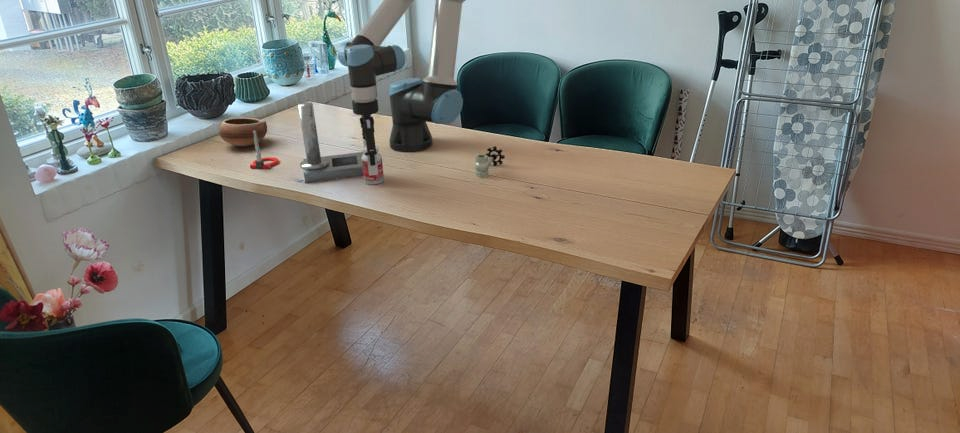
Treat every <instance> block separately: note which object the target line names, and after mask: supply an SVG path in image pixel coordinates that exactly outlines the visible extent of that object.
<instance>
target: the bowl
mask: <svg viewBox="0 0 960 433" xmlns="http://www.w3.org/2000/svg"><path fill="white" fill-rule="evenodd" d="M253 131H256V135H257V137H258V143H259V142H261V141H262V140H263V139H264V138H265V136H266V135H267V133H268V125H267V121H266V120H261V119H258V118H251V117H235V118H234V117H233V118H227V119H224V120H223V121H222V122H221V125H220V128H219V137H220V138H221V139H222V140H223V141H224V142H226V143H227V144H230V145H232V146H233V145H234V146H237V147H250V146H253V145H255V142H254V132H253Z"/></svg>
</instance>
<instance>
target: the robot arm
mask: <svg viewBox="0 0 960 433" xmlns="http://www.w3.org/2000/svg"><path fill="white" fill-rule="evenodd" d="M465 1H466V0H435V4H434V13H433V14H434V15H433V23H432V24H433V25H432V31H431V32H432V33H431V41H430V43H431V44H430V52H429V61H428V69H427V70H428V71H427V75H426V76H425V77H424V78H423V79H422V78H421V77H410V78H405V79H400V80H396V81H394V82H392V83H391V84H390V86H389V94H388V96H389V102H390V111H391V120H392V127H391V132H390V136H389V147H390V149H391V150H394V151H397V152H403V153H404V152H407V153H409V152H419V151H422V150H426V149H428V148H430V147H432V146H433V144H434V143H433V135H432V133H431V131H430V128H429V126H428V123H427V122H429V123H434V124H437V125H449V124H451V123H453V122H455V121H456V119H457V118H459V116H460V114H461V112H462V109H463V105H464V99H463V97H462V96H463V95H462V94H461V92H460V91H459V90H458V83H457V81H456V80H455V71H456V61H457V52H458V46H459V45H458V43H459V34H460V27H461V26H460V25H461V18H462V9H463V8H462V7H463V3H465ZM413 2H414V0H382V2H381V3H380V4H379V5H378V7H377V8H376V9H375V11H374V12H373V14H372V15H371V16H370V17H369V19H368V20H367V21H366V23H365V24H364V25H363V27H361V29H360V30H359V32H358V33H357V34H356V35H355V37H354V38H353V40H352V41H347V42H343V43H341V44H340V45H339V46H338V49H337V52H336V53H337V59H338V61H339V63H340V64H341V65H342V66H344V67H347V69H348V70H347V71H348V77H349V78H348V79H349V85H350V88H349V89H348V93H350V94H351V99H352V102H351V106H352V112H353V114H354V115H356V116H360V117H359V123H360V128H361V132H362V133H361V135H362V139H363V140H362V142H363V143H362V144H363V148H364V147H365V146H366V147H367V153H365V156H366V155H367V161H368V170H369V176H370V175H378V167H377V156H376V154H377V151H376V146H377V145H376V139H375V126H374V125H375V120H374V117H373V116H372V115H374V114H375V115H376V114H377V113H378V112H379V101H378V99H377V98H378V88H377V77H378V76H381V75H386V74H390V73H396V71H400V70H401V69H403V68H404V66H405V64H406V54H405V52H404V50H403V48H402V47H400V46H399V45H396V44H393V45H390V44H389V45H387V46H381V45H382V43H383V42H385V40H386V38H387V37H388V36H389V34H390V33H391V31H392V30H393V29H394V28H395V26H396V25H397V23H398V22H399V21H400V20H401V18H402V17H403V16H404V14H406V11H407V10H408V9H409V8H410V6H411V5H412V4H413ZM370 150H373V151H370Z"/></svg>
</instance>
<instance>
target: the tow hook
mask: <svg viewBox="0 0 960 433" xmlns="http://www.w3.org/2000/svg"><path fill="white" fill-rule="evenodd" d="M253 132H254V142H255V144H254V148H255V156H256V159H255V160H253V162H252V163H250V164H249V168H250V169H271V167H273V166H275V165H278V164H279V163H280V161H279V158H277V157H271V156H270V157H262V154H261V152H260V151H261V150H260V145H259V142H258V137H257V135H256V131H253ZM264 162H266V163H264ZM267 162H268V163H267Z"/></svg>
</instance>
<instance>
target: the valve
mask: <svg viewBox="0 0 960 433" xmlns="http://www.w3.org/2000/svg"><path fill="white" fill-rule="evenodd" d="M497 148H498V146H496V145H494V146H493V147H492V148H491V147H488V148H487V149H486V151H487V153H485V154H483V153H480V154H477V155H476V156H475V167H474V168H475V176H476V177H477V178H479V179H483V178H484V179H486V178H487V177H488V176H489V168H490V166H491V165H492V166H493V167H496V166H498V165H500V166H501V165H502V164H503V162H504V161H502V160H504V159H505V158H506V156H505V155H504V154H502V153H503V149H502V148H501V149H497ZM493 152H495V153H493ZM498 157H499V158H498ZM497 159H498V160H497Z"/></svg>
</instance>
